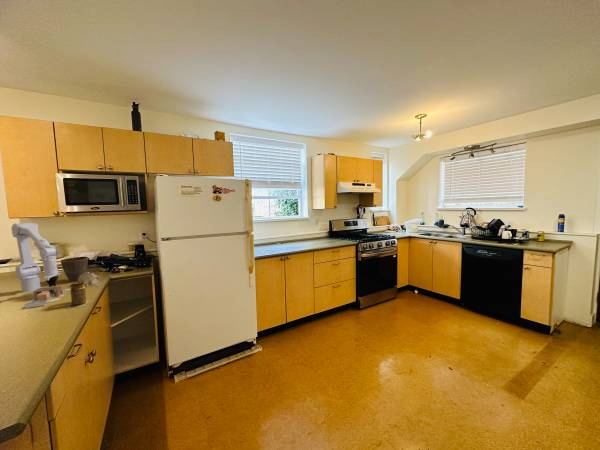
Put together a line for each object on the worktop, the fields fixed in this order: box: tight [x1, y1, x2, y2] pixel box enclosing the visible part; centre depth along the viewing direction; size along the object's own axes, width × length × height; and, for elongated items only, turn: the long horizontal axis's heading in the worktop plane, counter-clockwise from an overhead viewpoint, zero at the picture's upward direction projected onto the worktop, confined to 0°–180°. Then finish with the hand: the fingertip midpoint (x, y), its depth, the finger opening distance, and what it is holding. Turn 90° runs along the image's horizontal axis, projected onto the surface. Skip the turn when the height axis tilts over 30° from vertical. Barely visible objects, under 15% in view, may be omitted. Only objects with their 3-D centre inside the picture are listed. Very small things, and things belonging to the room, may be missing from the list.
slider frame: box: [24, 285, 56, 309], centre depth 141 cm, size 23×7×5 cm, turn 27°
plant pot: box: [60, 256, 89, 283], centre depth 180 cm, size 15×15×16 cm
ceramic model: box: [77, 271, 102, 288], centre depth 167 cm, size 14×11×10 cm
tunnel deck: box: [21, 285, 71, 308], centre depth 147 cm, size 26×14×6 cm, turn 27°
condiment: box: [66, 281, 89, 309], centre depth 136 cm, size 7×8×12 cm
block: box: [37, 291, 50, 300], centre depth 141 cm, size 4×4×4 cm
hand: (52, 288), depth 152 cm, fingers closed, pressing on slider frame
